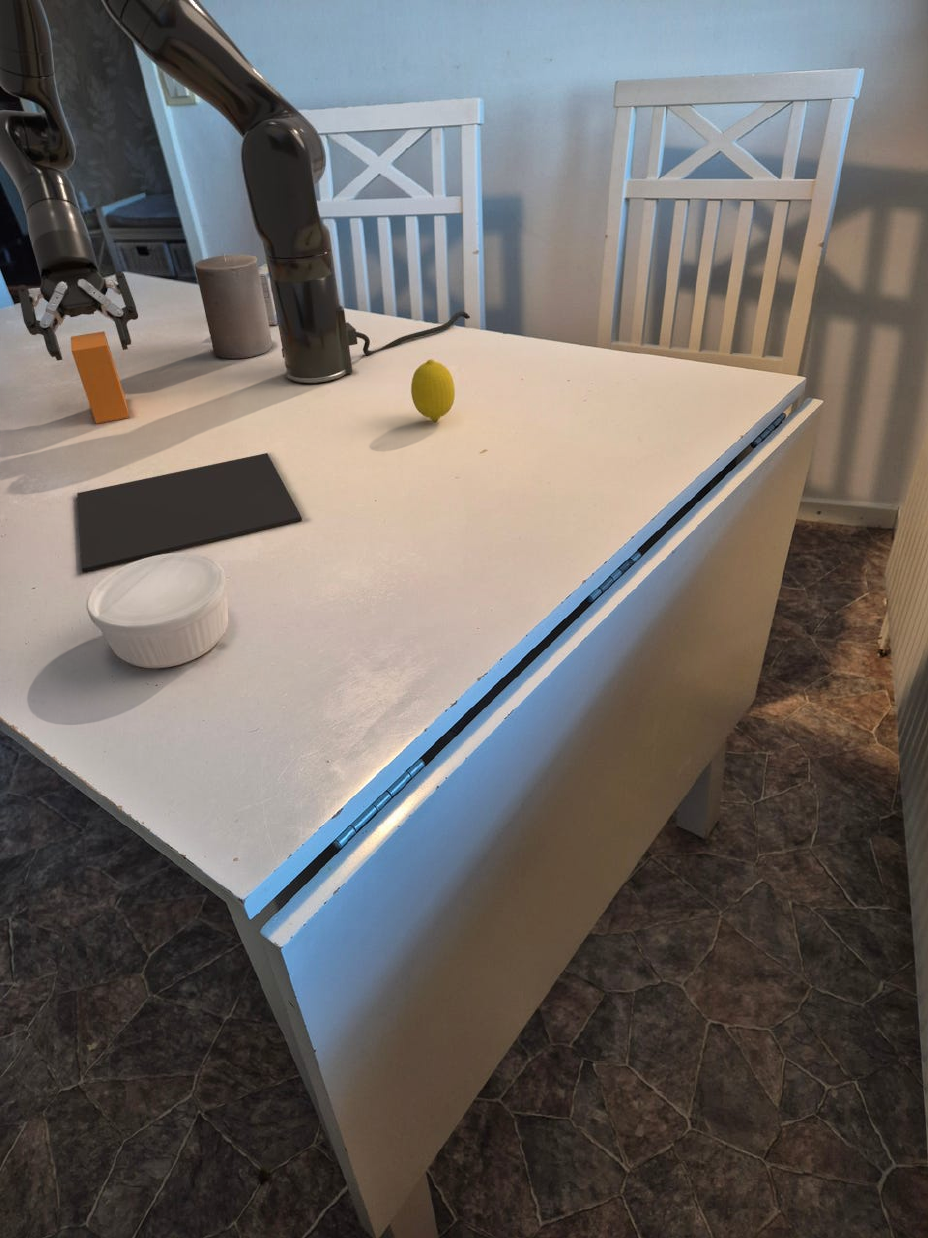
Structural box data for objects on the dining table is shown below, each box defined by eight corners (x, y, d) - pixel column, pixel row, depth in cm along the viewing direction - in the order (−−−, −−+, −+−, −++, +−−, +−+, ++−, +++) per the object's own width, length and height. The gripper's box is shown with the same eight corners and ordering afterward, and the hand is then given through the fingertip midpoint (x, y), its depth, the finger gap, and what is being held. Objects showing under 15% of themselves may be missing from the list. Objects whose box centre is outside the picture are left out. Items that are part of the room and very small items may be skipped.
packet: (126, 401, 117) (104, 330, 111) (129, 417, 112) (106, 344, 106) (94, 406, 116) (70, 336, 110) (96, 423, 111) (71, 350, 105)
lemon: (463, 415, 106) (460, 354, 102) (445, 431, 102) (440, 369, 98) (426, 410, 108) (420, 350, 104) (406, 426, 104) (400, 364, 100)
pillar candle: (203, 351, 134) (180, 254, 125) (255, 336, 139) (236, 242, 131) (232, 363, 128) (210, 262, 119) (285, 347, 133) (267, 250, 125)
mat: (268, 456, 99) (267, 452, 99) (302, 520, 86) (301, 516, 85) (78, 496, 93) (77, 492, 93) (83, 572, 79) (81, 568, 79)
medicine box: (276, 325, 144) (266, 274, 139) (253, 325, 145) (242, 274, 140) (292, 312, 150) (284, 262, 145) (270, 312, 151) (261, 263, 146)
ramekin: (113, 612, 74) (95, 562, 70) (238, 590, 75) (225, 542, 72) (97, 690, 65) (75, 638, 62) (239, 664, 66) (224, 612, 63)
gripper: (-3, 234, 106) (28, 346, 104) (111, 220, 110) (142, 328, 108) (14, 269, 113) (43, 374, 111) (120, 255, 117) (150, 356, 115)
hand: (92, 352), depth 110 cm, fingers open, 8 cm apart
